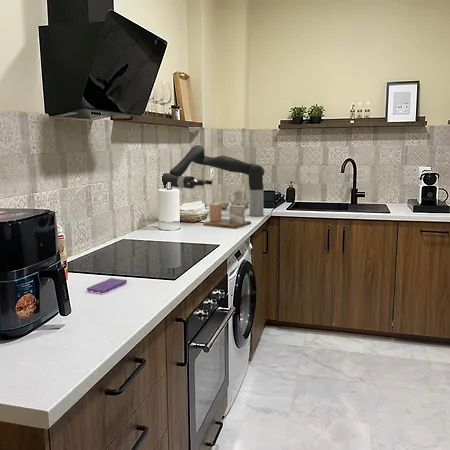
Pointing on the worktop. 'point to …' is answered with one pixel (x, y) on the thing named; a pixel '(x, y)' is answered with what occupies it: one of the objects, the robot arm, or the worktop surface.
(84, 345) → the worktop surface
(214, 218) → the tan upright block
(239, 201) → the chinaware
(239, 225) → the ticket stand
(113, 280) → the sponges
